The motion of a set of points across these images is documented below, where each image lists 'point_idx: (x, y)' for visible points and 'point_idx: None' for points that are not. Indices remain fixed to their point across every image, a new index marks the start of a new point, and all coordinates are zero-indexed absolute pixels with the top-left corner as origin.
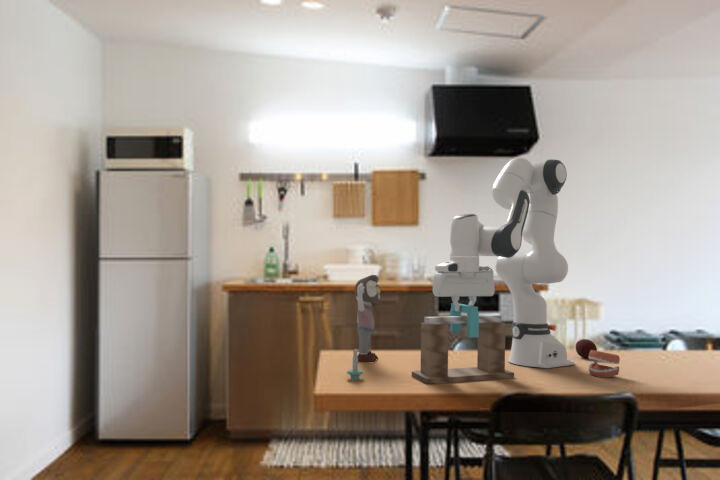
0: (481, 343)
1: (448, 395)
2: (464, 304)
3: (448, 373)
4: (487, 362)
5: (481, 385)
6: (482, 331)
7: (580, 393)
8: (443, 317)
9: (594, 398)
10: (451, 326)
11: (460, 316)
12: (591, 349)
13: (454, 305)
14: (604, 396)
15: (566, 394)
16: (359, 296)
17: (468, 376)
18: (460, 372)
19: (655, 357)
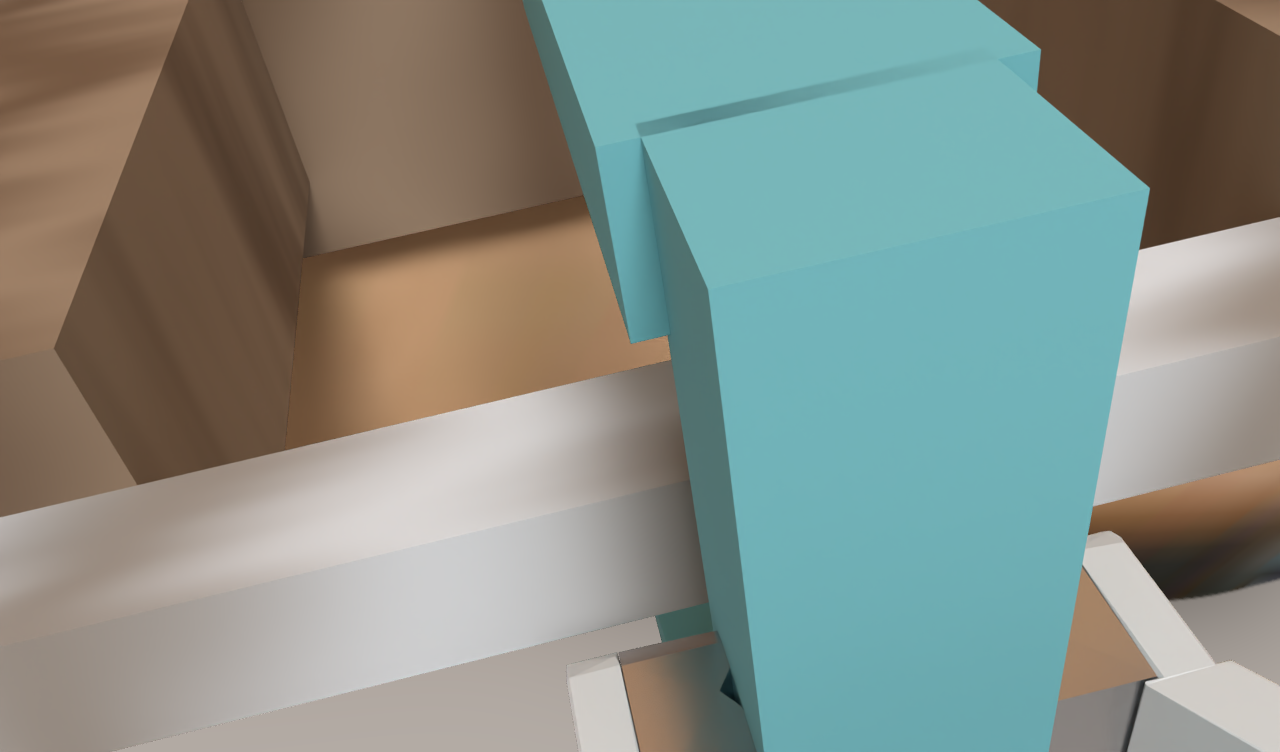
0: (1024, 33)
1: None
2: (1060, 658)
3: (343, 77)
4: None
5: (614, 327)
6: (1144, 155)
7: (1198, 502)
8: (131, 742)
9: (1174, 584)
10: (528, 1)
11: (674, 563)
12: None
13: (721, 503)
14: (1269, 548)
15: (1091, 524)
16: None
17: (556, 198)
18: (521, 31)
19: None
